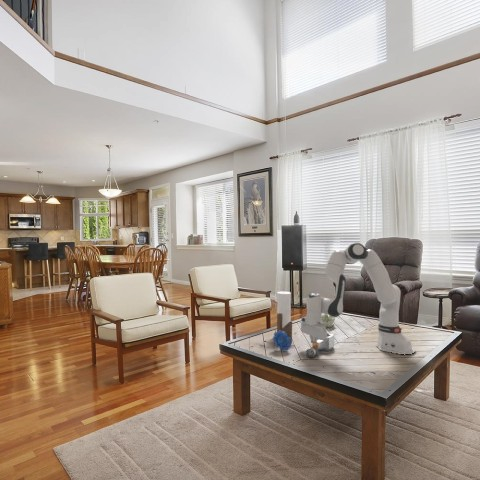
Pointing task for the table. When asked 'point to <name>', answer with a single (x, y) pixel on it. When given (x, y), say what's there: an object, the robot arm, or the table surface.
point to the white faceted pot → (326, 349)
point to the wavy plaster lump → (327, 320)
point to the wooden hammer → (285, 329)
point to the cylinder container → (284, 307)
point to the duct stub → (311, 352)
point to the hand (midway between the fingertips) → (313, 343)
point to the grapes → (282, 340)
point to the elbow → (324, 342)
